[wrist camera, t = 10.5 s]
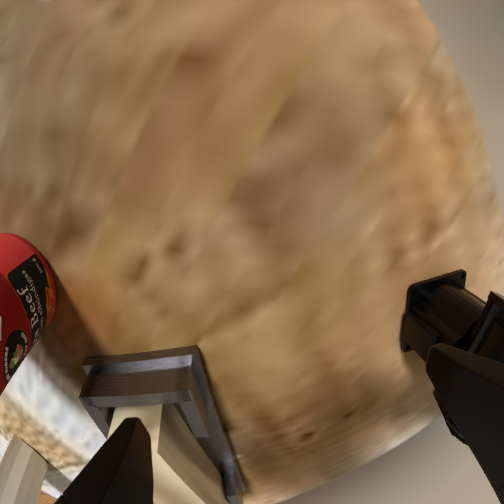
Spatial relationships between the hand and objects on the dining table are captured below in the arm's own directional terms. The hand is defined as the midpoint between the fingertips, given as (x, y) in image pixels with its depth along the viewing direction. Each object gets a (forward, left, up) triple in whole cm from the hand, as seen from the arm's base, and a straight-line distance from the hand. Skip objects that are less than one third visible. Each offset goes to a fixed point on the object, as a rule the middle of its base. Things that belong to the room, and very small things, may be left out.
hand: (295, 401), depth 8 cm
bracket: (+9, +17, -12) cm, 22 cm away
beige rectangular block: (+9, +17, -11) cm, 22 cm away
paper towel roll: (+31, +21, -12) cm, 39 cm away
